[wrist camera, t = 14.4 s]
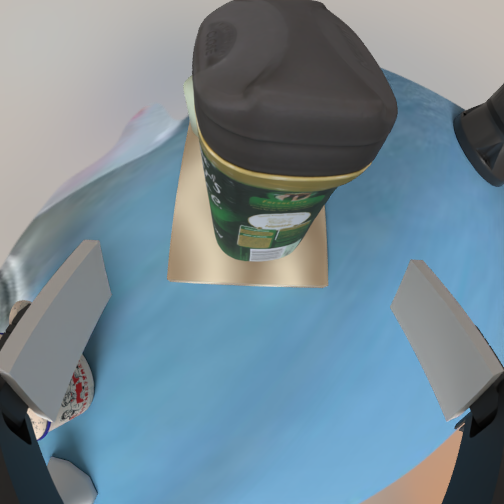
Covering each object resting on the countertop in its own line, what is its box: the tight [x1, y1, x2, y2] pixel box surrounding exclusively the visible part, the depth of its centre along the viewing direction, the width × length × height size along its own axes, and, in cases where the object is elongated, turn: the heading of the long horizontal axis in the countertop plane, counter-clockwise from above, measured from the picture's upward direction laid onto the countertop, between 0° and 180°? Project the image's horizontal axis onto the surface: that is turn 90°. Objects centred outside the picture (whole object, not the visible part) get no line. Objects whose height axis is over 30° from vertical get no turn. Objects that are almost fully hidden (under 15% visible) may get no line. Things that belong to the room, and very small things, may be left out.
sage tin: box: [183, 76, 198, 137], centre depth 24 cm, size 4×4×6 cm
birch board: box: [167, 123, 328, 288], centre depth 26 cm, size 14×21×2 cm, turn 178°
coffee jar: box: [192, 0, 398, 261], centre depth 16 cm, size 10×8×19 cm
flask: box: [47, 456, 98, 504], centre depth 12 cm, size 7×7×10 cm
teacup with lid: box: [0, 300, 94, 441], centre depth 15 cm, size 12×9×12 cm
